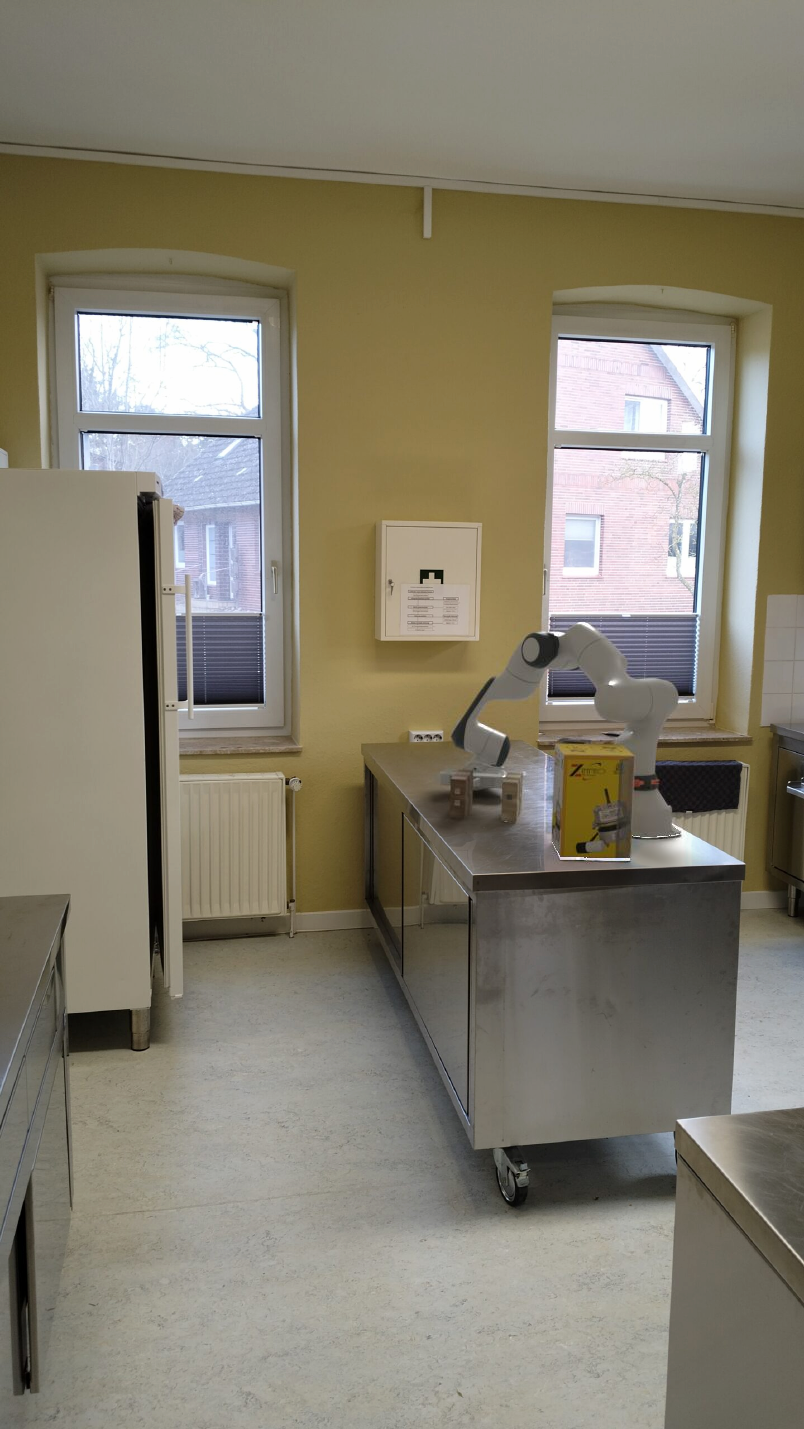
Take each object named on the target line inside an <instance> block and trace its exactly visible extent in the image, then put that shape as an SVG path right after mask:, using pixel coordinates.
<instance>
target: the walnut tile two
mask: <svg viewBox="0 0 804 1429" xmlns="http://www.w3.org/2000/svg"><path fill="white" fill-rule="evenodd" d="M457 770H458V771H457V772H456V773H455V775H454V776H453V777H452V778H451V785H449V786H450V791H449V792H450V795H449V796H450V799H449V819H453V820H454V819H455V820H466V818H467V816H468V815H469V814H468V813H470V812H471V811H470V810H472V809H473V794H474V793H473V791H474V790H473V770H463V769H457ZM467 814H468V815H467ZM465 817H466V818H465Z"/></svg>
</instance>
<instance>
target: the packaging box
mask: <svg viewBox="0 0 804 1429" xmlns="http://www.w3.org/2000/svg"><path fill="white" fill-rule="evenodd" d="M553 757H554V758H553V759H554V760H553V784H552V785H553V787H552V790H553V791H552V810H551V811H552V812H551V814H552V817H551V818H552V819H551V840H550V841H552V842H553V844H554V846H555V848H556V850H557V851H558V853H559V855H560V857H584V858H586V857H587V858H631V857H632V856H631V853H632V838H633V837H632V816H633V795H634V774H635V756H634V755H633V754H632V753H631V752H630V751H628V750H627V749H626V748H625V747H624V746H623V745H614V744H606V743H605V744H604V743H603V744H602V743H601V744H600V743H599V744H598V743H596V744H595V743H590V744H557V743H554V756H553Z"/></svg>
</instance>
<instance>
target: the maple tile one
mask: <svg viewBox="0 0 804 1429" xmlns="http://www.w3.org/2000/svg"><path fill="white" fill-rule="evenodd" d="M523 775H524V774H523V772H509V771H508V772H507V775H506V777H505V779H504V780H503V782H502V788H501V819H500V821H507V822H506V823H508V822H516V821H518V820H519V818H518V817H520V816H521V813H522V811H523V810H522V807H523V804H522V803H523V780H524V776H523ZM519 815H520V816H519ZM517 819H518V820H517ZM516 823H517V822H516Z"/></svg>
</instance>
